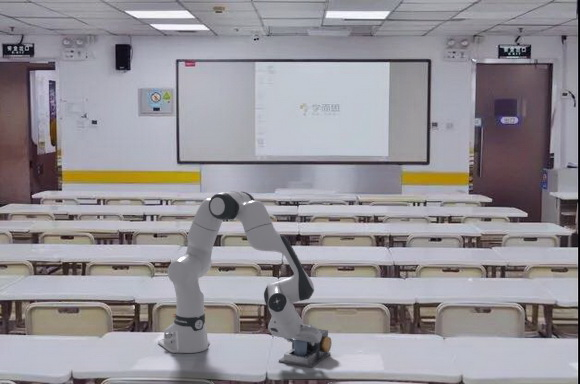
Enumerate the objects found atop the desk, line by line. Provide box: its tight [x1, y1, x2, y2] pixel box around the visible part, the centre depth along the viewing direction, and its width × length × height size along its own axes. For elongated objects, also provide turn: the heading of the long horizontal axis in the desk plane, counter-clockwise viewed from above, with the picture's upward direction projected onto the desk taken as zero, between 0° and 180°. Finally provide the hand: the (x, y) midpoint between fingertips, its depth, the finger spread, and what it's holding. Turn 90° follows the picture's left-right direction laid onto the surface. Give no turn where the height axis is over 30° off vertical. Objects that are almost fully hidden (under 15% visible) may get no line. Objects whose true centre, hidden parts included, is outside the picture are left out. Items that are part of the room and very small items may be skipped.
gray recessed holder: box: [278, 323, 332, 368], centre depth 293 cm, size 15×18×12 cm
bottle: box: [294, 340, 307, 357], centre depth 289 cm, size 5×5×12 cm
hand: (301, 342), depth 290 cm, fingers open, 8 cm apart
